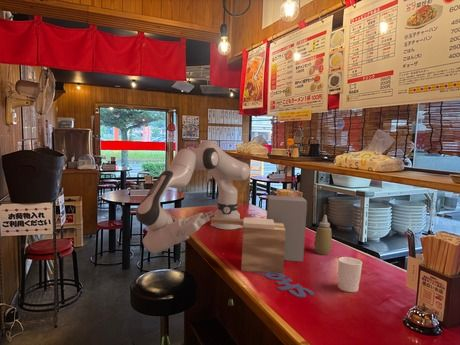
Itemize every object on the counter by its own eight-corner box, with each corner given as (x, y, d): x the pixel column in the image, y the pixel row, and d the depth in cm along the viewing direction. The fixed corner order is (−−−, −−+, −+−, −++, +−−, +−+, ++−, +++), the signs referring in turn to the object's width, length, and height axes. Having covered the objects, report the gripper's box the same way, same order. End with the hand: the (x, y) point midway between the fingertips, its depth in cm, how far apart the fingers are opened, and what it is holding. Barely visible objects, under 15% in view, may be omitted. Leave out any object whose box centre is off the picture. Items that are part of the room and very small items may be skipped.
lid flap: (212, 219, 140) (212, 215, 140) (272, 223, 139) (273, 219, 139) (209, 224, 131) (209, 220, 130) (274, 228, 129) (274, 225, 129)
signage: (316, 293, 112) (293, 298, 108) (316, 295, 112) (293, 300, 108) (268, 264, 137) (247, 267, 133) (268, 266, 137) (247, 269, 133)
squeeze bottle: (319, 249, 163) (321, 212, 162) (334, 253, 158) (337, 215, 156) (310, 252, 158) (312, 214, 156) (325, 257, 152) (328, 217, 150)
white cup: (347, 294, 114) (349, 265, 113) (331, 285, 121) (333, 258, 120) (364, 291, 117) (367, 263, 116) (348, 282, 124) (350, 256, 123)
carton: (264, 250, 157) (267, 195, 155) (299, 252, 156) (303, 197, 154) (265, 258, 145) (269, 199, 143) (303, 261, 144) (307, 201, 142)
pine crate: (242, 260, 142) (244, 220, 141) (280, 263, 141) (282, 223, 140) (241, 270, 130) (243, 227, 129) (282, 273, 129) (285, 230, 128)
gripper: (171, 229, 126) (203, 213, 125) (182, 218, 146) (210, 204, 145) (178, 244, 126) (211, 228, 125) (188, 230, 147) (217, 217, 145)
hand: (210, 215), depth 135 cm, fingers open, 8 cm apart
